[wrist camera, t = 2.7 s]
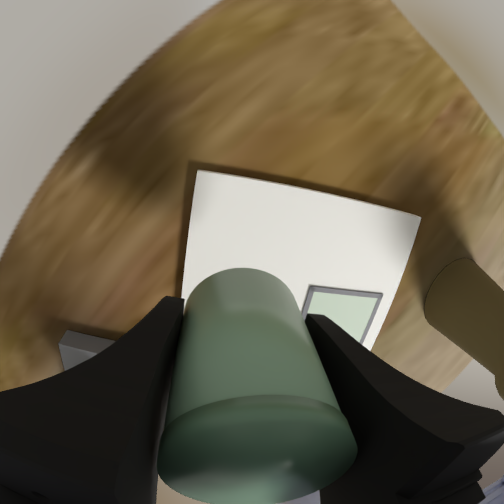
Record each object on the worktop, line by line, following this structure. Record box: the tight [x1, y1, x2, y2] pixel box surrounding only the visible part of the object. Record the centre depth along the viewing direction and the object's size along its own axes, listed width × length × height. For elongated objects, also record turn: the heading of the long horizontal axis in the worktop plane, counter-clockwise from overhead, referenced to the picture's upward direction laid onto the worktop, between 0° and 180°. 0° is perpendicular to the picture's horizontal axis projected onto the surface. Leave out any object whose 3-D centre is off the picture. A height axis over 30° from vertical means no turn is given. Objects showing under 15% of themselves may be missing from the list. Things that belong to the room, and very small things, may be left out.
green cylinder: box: [157, 268, 357, 504], centre depth 8 cm, size 4×4×7 cm
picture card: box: [181, 169, 421, 351], centre depth 18 cm, size 18×13×1 cm
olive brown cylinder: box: [424, 258, 504, 400], centre depth 14 cm, size 6×6×11 cm
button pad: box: [58, 330, 116, 371], centre depth 18 cm, size 7×7×2 cm
